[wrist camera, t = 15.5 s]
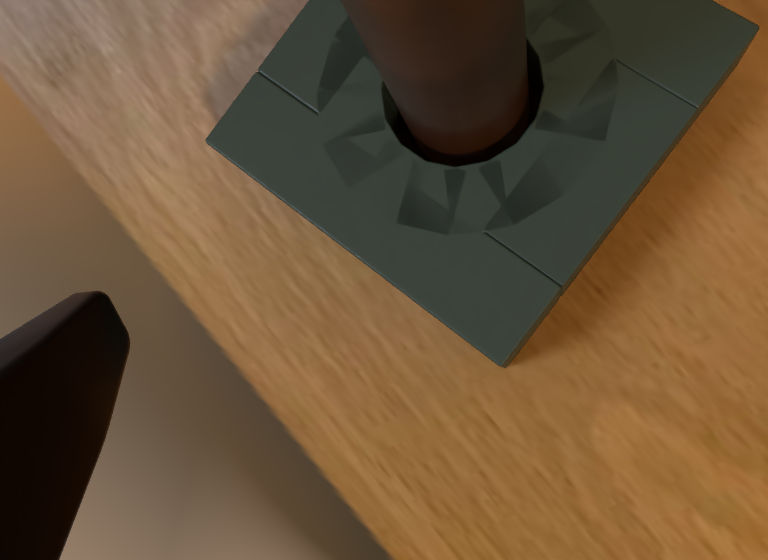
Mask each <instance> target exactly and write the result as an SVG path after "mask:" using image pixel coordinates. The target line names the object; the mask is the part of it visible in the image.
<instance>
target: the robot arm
mask: <svg viewBox="0 0 768 560" xmlns="http://www.w3.org/2000/svg"><path fill="white" fill-rule="evenodd" d="M129 349H130V338H129V334H128V331H127V329H126V327H125V326H124V324H123V322H122V320H121V318H120V316H119V315H118V313H117V311H116V309H115V307H114V305H113V304H112V302H111V300H110V298H109V296H108V295H106V294H105V293H104V292H101V291H92V292H80V293H75V294H73V295H71V296H70V297H68V298H66V299H65V300H63V301H61V302H60V303H58V304H56V305H55V306H53V307H52V308H50V309H48V310H47V311H45V312H43V313H42V314H40V315H38V316H37V317H35V318H34V319H32V320H30V321H29V322H27V323H25V324H24V325H22V326H21V327H19V328H17V329H16V330H14V331H13V332H11V333H9V334H8V335H6V336H4V337H3V338H1V339H0V560H59V559H60V556H61V553H62V551H63V548H64V546H65V543H66V541H67V538H68V535H69V533H70V530H71V528H72V525H73V522H74V520H75V517H76V515H77V512H78V509H79V507H80V504H81V502H82V499H83V496H84V494H85V491H86V489H87V486H88V483H89V481H90V478H91V475H92V473H93V470H94V468H95V465H96V462H97V460H98V457H99V455H100V452H101V449H102V446H103V444H104V441H105V438H106V434H107V431H108V428H109V425H110V421H111V417H112V414H113V410H114V406H115V402H116V398H117V395H118V391H119V387H120V384H121V380H122V376H123V372H124V368H125V365H126V361H127V357H128V354H129Z"/></svg>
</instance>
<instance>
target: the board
mask: <svg viewBox="0 0 768 560" xmlns="http://www.w3.org/2000/svg"><path fill="white" fill-rule="evenodd" d="M524 6H525V26H526V47H527V67H528V74H529V75H530V77H531V78H532V80H533V81H534V83H535V84H536V86H537V87H538V89H539V93H540V102H539V106H538V110H537V114H536V117H535V119H534V120H533V122H532V123H531V124H530V126H529V127H528V128H527V130H526V131H525V132H524V134H523V135H522V136H521V138H520V139H519V140H518V142H517V143H516V144H514V145H513V146H511V147H509V148H508V149H506V150H505V151H503V152H501V153H500V154H498V155H496V156H495V157H493V158H492V159H490V160H488V161H484V162H479V163H473V164H468V165H463V166H457V167H454V166H450V165H445V164H440V163H435V162H430V161H426V160H424V159H423V158H421V157H420V156H418V155H417V154H415V153H414V152H413V151H411V150H410V149H408V148H407V147H405V146H404V145H402V144H401V140H400V132H399V124H398V113H399V109H398V108H397V106H396V104H395V102H394V100H393V98H392V96H391V94H390V93H389V91H388V89H387V87H386V85H385V83H384V81H383V79H382V77H381V76H380V74H379V72H378V70H377V68H376V66H375V64H374V62H373V61H372V59H371V57H370V55H369V53H368V51H367V49H366V47H365V45H364V44H363V42H362V40H361V38H360V36H359V34H358V32H357V30H356V29H355V27H354V25H353V23H352V21H351V19H350V17H349V15H348V13H347V12H346V10H345V8H344V6H343V4H342V2H341V0H309V1H308V2H307V4H306V5H305V7H304V8H303V9H302V11H301V12H300V13H299V15H298V16H297V17H296V19H295V20H294V21H293V23H292V24H291V25H290V27H289V28H288V29H287V31H286V32H285V33H284V35H283V36H282V37H281V39H280V40H279V41H278V43H277V44H276V46H275V47H274V48H273V50H272V51H271V52H270V54H269V55H268V56H267V58H266V59H265V60H264V62H263V63H262V64H261V66H260V67H259V69H258V71H259V72H256V73H255V74H254V75H253V76H252V78H251V79H250V81H249V82H248V83H247V85H246V86H245V87H244V89H243V90H242V91H241V93H240V94H239V95H238V97H237V98H236V99H235V101H234V102H233V103H232V105H231V106H230V107H229V109H228V110H227V111H226V113H225V114H224V116H223V117H222V118H221V120H220V121H219V122H218V124H217V125H216V126H215V128H214V129H213V130H212V132H211V133H210V134H209V136H208V137H207V138H206V143H207V144H208V145H210V146H211V147H212V148H213V149H215V150H216V151H217V152H219V153H220V154H221V155H223V156H224V157H225V158H227V159H228V160H229V161H231V162H232V163H233V164H234V165H236V166H237V167H238V168H240V169H241V170H242V171H244V172H245V173H246V174H248V175H249V176H250V177H252V178H253V179H254V180H256V181H257V182H258V183H259V184H261V185H262V186H263V187H265V188H266V189H267V190H269V191H270V192H271V193H273V194H274V195H275V196H277V197H278V198H279V199H280V200H282V201H283V202H284V203H286V204H287V205H288V206H290V207H291V208H292V209H294V210H295V211H296V212H298V213H299V214H300V215H301V216H303V217H304V218H305V219H307V220H308V221H309V222H311V223H312V224H313V225H315V226H316V227H317V228H319V229H320V230H321V231H322V232H324V233H325V234H326V235H328V236H329V237H330V238H332V239H333V240H334V241H336V242H337V243H338V244H340V245H341V246H342V247H343V248H345V249H346V250H347V251H349V252H350V253H351V254H353V255H354V256H355V257H357V258H358V259H359V260H361V261H362V262H363V263H364V264H366V265H367V266H368V267H370V268H371V269H372V270H374V271H375V272H376V273H378V274H379V275H380V276H382V277H383V278H384V279H385V280H387V281H388V282H389V283H391V284H392V285H393V286H395V287H396V288H397V289H399V290H400V291H401V292H403V293H404V294H405V295H406V296H408V297H409V298H410V299H412V300H413V301H414V302H416V303H417V304H418V305H420V306H421V307H422V308H424V309H425V310H426V311H428V312H429V313H430V314H431V315H433V316H434V317H435V318H437V319H438V320H439V321H441V322H442V323H443V324H445V325H446V326H447V327H449V328H450V329H451V330H452V331H454V332H455V333H456V334H458V335H459V336H460V337H462V338H463V339H464V340H466V341H467V342H468V343H470V344H471V345H472V346H473V347H475V348H476V349H477V350H479V351H480V352H481V353H483V354H484V355H485V356H487V357H488V358H489V359H491V360H492V361H493V362H494V363H496V364H497V365H498V366H501V367H504V368H506V367H508V366H509V364H510V363H511V362H512V360H513V359H514V358H515V356H516V355H517V354H518V352H519V351H520V350H521V349H522V347H523V346H524V345H525V343H526V342H527V341H528V339H529V338H530V337H531V335H532V334H533V333H534V331H535V330H536V329H537V327H538V326H539V325H540V324H541V322H542V321H543V320H544V318H545V317H546V316H547V314H548V313H549V312H550V310H551V309H552V308H553V306H554V305H555V304H556V303H557V301H558V300H559V298H560V296H562V295H563V293H564V292H565V291H566V289H567V288H568V287H569V286H570V284H571V283H572V282H573V280H574V279H575V278H576V276H577V275H578V274H579V272H580V271H581V270H582V268H583V267H584V266H585V265H586V263H587V262H588V261H589V259H590V258H591V257H592V255H593V254H594V253H595V251H596V250H597V249H598V247H599V246H600V245H601V243H602V242H603V241H604V240H605V238H606V237H607V236H608V234H609V233H610V232H611V230H612V229H613V228H614V226H615V225H616V224H617V222H618V221H619V220H620V218H621V217H622V216H623V215H624V213H625V212H626V211H627V209H628V208H629V207H630V205H631V204H632V203H633V201H634V200H635V199H636V197H637V196H638V195H639V194H640V192H641V191H642V190H643V188H644V187H645V186H646V184H647V183H648V182H649V180H650V179H651V178H652V176H653V175H654V174H655V172H656V171H657V170H658V169H659V167H660V166H661V165H662V163H663V162H664V161H665V159H666V158H667V157H668V155H669V154H670V153H671V151H672V150H673V149H674V147H675V146H676V145H677V144H678V142H679V141H680V140H681V138H682V136H683V135H684V134H685V133H686V132H687V130H688V129H689V128H690V126H691V125H692V124H693V122H694V121H695V120H696V118H697V117H698V116H699V115H700V113H701V112H702V111H703V109H704V108H705V107H706V105H707V104H708V103H709V101H710V100H711V99H712V97H713V96H714V95H715V94H716V92H717V91H718V90H719V88H720V87H721V86H722V84H723V83H724V82H725V80H726V79H727V78H728V76H729V75H730V74H731V72H732V71H733V70H734V69H735V67H736V66H737V64H738V63H739V61H740V59H741V58H742V56H743V55H744V53H745V51H746V50H747V48H748V46H749V45H750V43H751V42H752V40H753V38H754V37H755V35H756V33H757V32H758V30H759V26H758V25H756V24H755V23H753V22H751V21H749V20H747V19H745V18H744V17H742V16H740V15H738V14H736V13H734V12H733V11H731V10H729V9H727V8H725V7H723V6H722V5H720V4H718V3H716V2H714V1H712V0H524Z"/></svg>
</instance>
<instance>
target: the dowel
mask: <svg viewBox="0 0 768 560" xmlns="http://www.w3.org/2000/svg"><path fill="white" fill-rule="evenodd" d="M341 2H342V4H343V6H344V8H345V10H346V12H347V13H348V15H349V17H350V19H351V21H352V23H353V25H354V27H355V29H356V30H357V32H358V34H359V36H360V38H361V40H362V42H363V44H364V45H365V47H366V49H367V51H368V53H369V55H370V57H371V59H372V61H373V62H374V64H375V66H376V68H377V70H378V72H379V74H380V76H381V77H382V79H383V81H384V83H385V85H386V87H387V89H388V91H389V93H390V94H391V96H392V98H393V100H394V102H395V104H396V106H397V108H398V109H399V111H400V113H401V115H402V117H403V119H404V121H405V123H406V125H407V126H408V128H409V130H410V132H411V134H412V136H413V138H414V140H415V141H416V143H417V145H418V147H419V148H420V150H421V151H422V152H423V153H424V154H425V155H426V156H427V157H428V158H429V159H430V160H431V161H433V162H435V163H440V164H445V165H450V166H454V167H457V166H463V165H468V164H473V163H479V162H484V161H488V160H490V159H492V158H493V157H495V156H496V155H498V154H500V153H501V152H503V151H505V150H506V149H508V148H509V147H511V146H513V145H514V144H516V143H517V142H518V140H519V139H520V138H521V136H522V135H523V134H524V132H525V131H526V129H527V125H528V121H529V88H528V67H527V47H526V26H525V6H524V0H341Z"/></svg>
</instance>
